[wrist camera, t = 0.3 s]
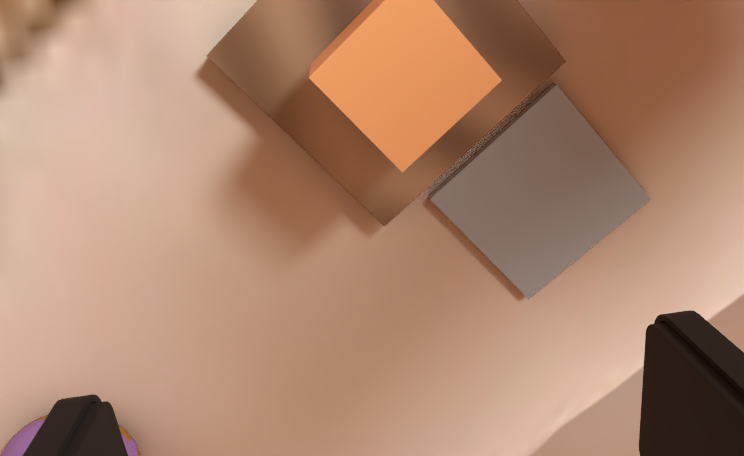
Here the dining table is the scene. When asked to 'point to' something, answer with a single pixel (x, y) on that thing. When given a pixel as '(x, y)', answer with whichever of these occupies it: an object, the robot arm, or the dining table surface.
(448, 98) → the orange bevelled cube
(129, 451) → the donut
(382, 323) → the dining table surface
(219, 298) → the dining table surface
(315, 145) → the post stand
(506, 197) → the rubber pad
